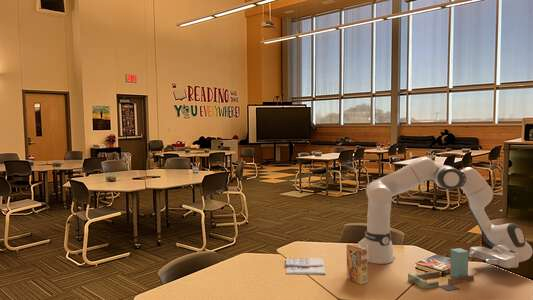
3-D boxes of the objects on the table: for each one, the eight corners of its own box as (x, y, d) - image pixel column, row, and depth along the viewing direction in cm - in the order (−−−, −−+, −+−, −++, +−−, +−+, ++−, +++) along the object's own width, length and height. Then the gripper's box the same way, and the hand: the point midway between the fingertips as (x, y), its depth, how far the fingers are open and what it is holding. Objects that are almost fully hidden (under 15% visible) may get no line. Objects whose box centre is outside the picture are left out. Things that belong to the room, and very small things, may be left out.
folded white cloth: (323, 261, 206) (323, 257, 206) (325, 276, 186) (325, 271, 186) (285, 261, 208) (285, 256, 208) (283, 275, 188) (283, 271, 188)
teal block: (450, 275, 183) (450, 249, 182) (459, 274, 184) (459, 248, 184) (459, 279, 178) (459, 252, 177) (467, 278, 180) (468, 251, 179)
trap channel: (400, 276, 183) (400, 269, 183) (447, 268, 192) (447, 262, 192) (433, 293, 164) (433, 286, 164) (483, 284, 173) (483, 277, 172)
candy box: (368, 282, 176) (367, 247, 175) (361, 285, 174) (360, 249, 173) (353, 276, 184) (352, 243, 183) (346, 278, 181) (346, 244, 180)
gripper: (483, 242, 199) (460, 245, 194) (521, 254, 180) (498, 258, 175) (482, 254, 199) (460, 258, 195) (521, 268, 180) (497, 272, 175)
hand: (478, 258), depth 185 cm, fingers open, 8 cm apart
